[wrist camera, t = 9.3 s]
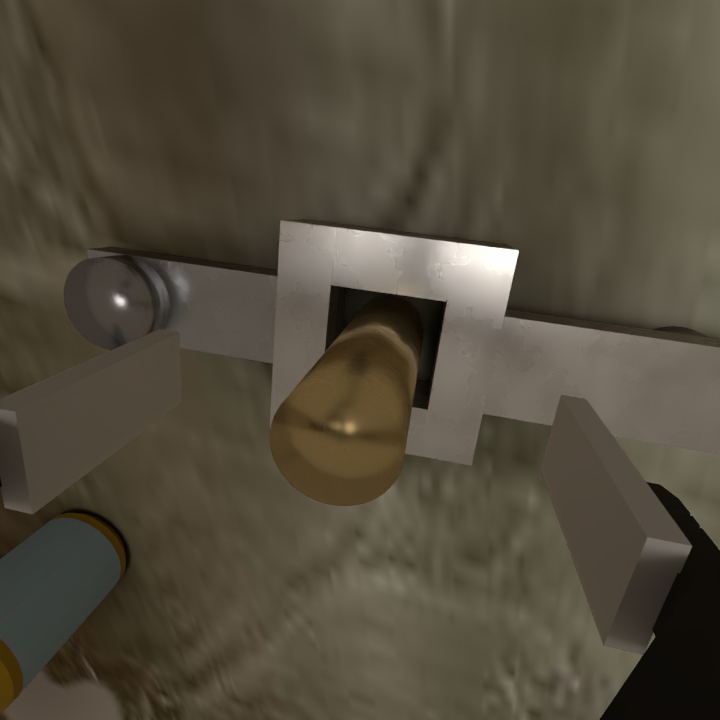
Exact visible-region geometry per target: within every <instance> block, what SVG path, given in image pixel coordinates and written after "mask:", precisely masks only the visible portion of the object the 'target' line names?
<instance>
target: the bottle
mask: <svg viewBox="0 0 720 720" xmlns="http://www.w3.org/2000/svg"><path fill="white" fill-rule="evenodd" d="M125 567H126V553H125V549H124V544H123V542H122V541H121V539H120V537H119V535H118V534H117V533H116V532H115V531H114V529H113V528H112V527H111V526H110V525H109V524H107V523H106V522H104V521H103V520H101V519H100V518H98V517H95V516H92V515H89V514H83V513H65V514H61V515H58V516H56V517H55V518H53V519H52V520H51V521H49V522H48V523H46V524H45V525H44V526H43V527H41V528H40V529H39V530H37V531H36V532H35V533H34V534H32V535H31V536H30V537H28V538H27V539H26V540H25V541H23V542H22V543H21V544H20V545H18V546H17V547H16V548H14V549H13V550H12V551H11V552H9V553H8V554H7V555H6V556H4V557H3V558H2V559H0V712H2V711H3V710H5V709H6V708H7V707H8V706H9V705H10V704H11V703H12V702H13V701H14V699H16V698H17V697H18V696H19V694H20V693H21V692H22V691H23V690H24V689H25V688H26V686H27V685H28V684H29V683H30V682H31V681H32V679H34V677H35V676H36V675H37V674H38V673H39V672H40V671H41V669H42V668H43V667H44V666H45V665H46V664H47V663H48V661H49V660H50V659H51V658H52V657H53V656H54V655H55V654H56V652H57V651H58V650H59V649H60V648H61V647H62V646H63V644H64V643H65V642H66V641H67V640H68V639H69V638H70V636H71V635H72V634H73V633H74V632H75V631H76V630H77V628H78V627H79V626H80V625H81V624H82V623H83V622H84V620H85V619H86V618H87V617H88V616H89V615H90V614H91V613H92V611H93V610H94V609H95V608H96V607H97V606H98V605H99V603H100V602H101V601H102V600H103V599H104V598H105V597H106V595H107V594H108V593H109V592H110V591H111V590H112V589H113V587H114V586H115V585H116V584H117V582H118V581H119V580H120V579H121V577H122V576H123V574H124V572H125Z"/></svg>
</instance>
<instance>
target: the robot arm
mask: <svg viewBox="0 0 720 720" xmlns="http://www.w3.org/2000/svg"><path fill="white" fill-rule="evenodd" d="M181 402H182V398H181V364H180V332H175V331H169V330H163V329H158V330H156V331H154V332H152V333H149V334H147V335H145V336H143V337H140V338H138V339H136V340H133V341H131V342H129V343H127V344H124V345H122V346H120V347H117V348H115V349H113V350H111V351H108V352H106V353H104V354H102V355H99V356H97V357H95V358H92V359H90V360H88V361H86V362H83V363H81V364H79V365H77V366H74V367H72V368H70V369H67V370H65V371H63V372H61V373H58V374H56V375H54V376H52V377H49V378H47V379H45V380H42V381H40V382H38V383H36V384H33V385H31V386H29V387H27V388H24V389H22V390H20V391H17V392H15V393H13V394H11V395H8V396H6V397H4V398H2V399H0V487H1V491H2V496H3V501H4V506H5V508H8V509H12V510H16V511H21V512H25V513H29V514H34V513H35V512H36V511H38V510H39V509H40V508H42V507H43V506H44V505H46V504H47V503H48V502H50V501H51V500H52V499H54V498H55V497H56V496H58V495H59V494H60V493H62V492H63V491H64V490H66V489H67V488H68V487H70V486H71V485H72V484H74V483H75V482H76V481H77V480H79V479H80V478H81V477H83V476H84V475H85V474H87V473H88V472H89V471H91V470H92V469H93V468H95V467H96V466H97V465H99V464H100V463H101V462H103V461H104V460H105V459H107V458H108V457H109V456H111V455H112V454H113V453H115V452H116V451H117V450H119V449H120V448H121V447H123V446H124V445H125V444H127V443H128V442H129V441H131V440H132V439H133V438H134V437H136V436H137V435H138V434H140V433H141V432H142V431H144V430H145V429H146V428H148V427H149V426H150V425H152V424H153V423H154V422H156V421H157V420H158V419H160V418H161V417H162V416H164V415H165V414H166V413H168V412H169V411H170V410H172V409H173V408H174V407H176V406H177V405H178V404H180V403H181ZM540 470H541V473H542V475H543V478H544V481H545V484H546V486H547V489H548V492H549V495H550V498H551V500H552V503H553V506H554V509H555V512H556V514H557V517H558V520H559V523H560V525H561V528H562V531H563V534H564V537H565V539H566V542H567V545H568V548H569V550H570V553H571V556H572V559H573V562H574V564H575V567H576V570H577V573H578V576H579V578H580V581H581V584H582V587H583V589H584V592H585V595H586V598H587V601H588V603H589V606H590V609H591V612H592V614H593V617H594V620H595V623H596V626H597V628H598V631H599V634H600V637H601V640H602V642H603V645H604V646H609V647H613V648H617V649H622V650H626V651H630V652H635V653H639V654H644V655H643V656H642V658H641V659H640V661H639V662H638V664H637V665H636V667H635V668H634V670H633V671H632V673H631V674H630V676H629V677H628V678H627V680H626V681H625V683H624V684H623V686H622V687H621V689H620V690H619V692H618V693H617V695H616V696H615V698H614V699H613V701H612V702H611V704H610V705H609V706H608V708H607V709H606V711H605V712H604V714H603V715H602V717H601V718H600V720H720V550H719V549H718V548H717V547H716V545H715V544H714V543H713V541H712V540H711V539H710V538H709V536H708V535H707V534H706V533H705V531H704V530H703V529H702V528H700V525H699V524H698V523H697V521H696V520H695V519H694V517H693V516H690V512H689V511H688V510H687V509H686V507H685V506H684V505H683V504H682V502H681V501H680V500H679V499H678V498H677V497H676V496H674V495H673V494H672V493H670V492H669V491H668V490H666V489H665V488H664V487H662V486H661V485H659V484H654V483H648V482H646V481H645V480H644V478H643V477H642V476H641V474H640V473H639V471H638V470H637V469H636V467H635V466H634V465H633V463H632V462H631V460H630V459H629V458H628V456H627V455H626V453H625V452H624V451H623V449H622V448H621V447H620V445H619V444H618V442H617V441H616V440H615V438H614V437H613V436H612V434H611V433H610V431H609V430H608V429H607V427H606V426H605V424H604V423H603V422H602V420H601V419H600V418H599V416H598V415H597V413H596V412H595V411H594V409H593V408H592V406H591V405H590V404H589V402H588V401H587V400H586V399H583V398H577V397H571V396H565V395H561V397H560V400H559V404H558V407H557V411H556V414H555V418H554V421H553V425H552V428H551V432H550V435H549V439H548V442H547V446H546V449H545V453H544V456H543V460H542V463H541V467H540ZM653 632H654V634H655V636H656V637H655V639H654V640H653V642H652V643H651V645H650V646H649V648H648V649H647V650H646V648H647V645H648V643H649V641H650V639H651V637H652V634H653ZM645 650H646V652H645ZM644 652H645V653H644Z"/></svg>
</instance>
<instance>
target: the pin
mask: <svg viewBox="0 0 720 720" xmlns="http://www.w3.org/2000/svg"><path fill="white" fill-rule="evenodd" d="M423 333H424V326H423V321H422V318H421V316H420V314H419V312H418V311H417V309H416V308H415V307H414V306H413V305H412V304H411V303H409V302H408V301H406V300H404V299H402V298H399V297H396V296H381V297H378V298H375V299H373V300H371V301H369V302H368V303H367V304H366V305H364V307H363V308H362V309H361V310H360V311H359V312H358V314H357V315H356V316H355V317H354V318H353V320H352V321H351V322H350V323H349V324H348V325H347V327H346V328H345V329H344V330H343V331H342V333H341V334H340V335H339V336H338V337H337V339H336V340H335V341H334V342H333V343H332V344H331V346H330V347H329V348H328V349H327V350H326V352H325V353H324V354H323V355H322V356H321V358H320V359H319V360H318V361H317V362H316V363H315V365H314V366H313V367H312V368H311V369H310V371H309V372H308V373H307V374H306V375H305V376H304V378H303V379H302V380H301V381H300V382H299V384H298V385H297V386H296V387H295V388H294V390H293V391H292V392H291V393H290V394H289V395H288V397H287V398H286V399H285V400H284V401H283V403H282V404H281V405H280V406H279V408H278V410H277V411H276V413H275V415H274V418H273V420H272V424H271V428H270V446H271V451H272V455H273V458H274V460H275V463H276V465H277V467H278V468H279V470H280V472H281V473H282V474H283V476H284V477H285V478H286V480H287V481H288V482H289V483H290V484H291V485H292V486H293V487H295V488H296V489H297V490H298V491H300V492H301V493H303V494H304V495H306V496H308V497H310V498H312V499H314V500H317V501H319V502H322V503H326V504H330V505H337V506H352V505H358V504H363V503H366V502H369V501H371V500H373V499H375V498H377V497H379V496H380V495H382V494H383V493H385V492H386V491H387V490H388V489H389V488H390V487H391V486H392V485H393V483H394V482H395V481H396V479H397V477H398V476H399V474H400V471H401V469H402V465H403V461H404V456H405V449H406V443H407V437H408V430H409V424H410V417H411V411H412V405H413V398H414V392H415V385H416V379H417V372H418V366H419V360H420V353H421V347H422V340H423Z"/></svg>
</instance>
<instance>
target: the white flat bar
mask: <svg viewBox="0 0 720 720" xmlns="http://www.w3.org/2000/svg"><path fill="white" fill-rule="evenodd" d="M87 253H88V259H86V260H84V261H82V262H80V263H78V264H77V265H76V266H75V267H74V268H73V269H72V270H71V271H70V273H69V275H68V276H67V279H66V282H65V286H64V301H65V306H66V310H67V313H68V315H69V317H70V319H71V321H72V323H73V324H74V326H75V327H76V329H77V330H78V331H79V332H80V333H81V334H82V335H83V336H84V337H85V338H86V339H87V340H89V341H90V342H92V343H93V344H95V345H97V346H99V347H102V348H105V349H110V350H113V349H115V348H117V347H120V346H122V345H124V344H127V343H129V342H131V341H133V340H136V339H138V338H140V337H143V336H145V335H147V334H149V333H152V332H154V331H156V330H158V329H163V330H169V331H175V332H180V348H183V349H189V350H195V351H201V352H207V353H213V354H219V355H225V356H230V357H236V358H242V359H248V360H254V361H260V362H266V363H272V364H273V373H272V392H271V411H270V428H271V424H272V420H273V418H274V415H275V413H276V411H277V410H278V408H279V406H280V405H281V404H282V403H283V401H284V400H285V399H286V398H287V397H288V395H289V394H290V393H291V392H292V391H293V390H294V388H295V387H296V386H297V385H298V384H299V382H300V381H301V380H302V379H303V378H304V376H305V375H306V374H307V373H308V372H309V371H310V369H311V368H312V367H313V366H314V365H315V363H316V362H317V361H318V360H319V359H320V358H321V356H322V355H323V354H324V353H325V352H326V350H327V349H328V348H329V347H330V346H331V344H332V343H333V342H334V341H335V340H336V339H337V337H338V336H339V335H340V334H341V330H342V320H343V310H344V300H345V290H346V287H347V288H354V289H361V290H368V291H375V292H382V293H389V294H396V295H403V296H410V297H417V298H424V299H431V300H438V301H444V304H443V310H442V316H441V322H440V327H439V333H438V339H437V344H436V350H435V356H434V362H433V367H432V373H431V379H430V382H425V381H419V380H416V385H415V392H414V398H413V405H412V411H411V417H410V424H409V430H408V437H407V443H406V449H405V453H406V454H411V455H417V456H422V457H427V458H433V459H438V460H443V461H449V462H454V463H459V464H465V465H470V466H471V465H472V461H473V456H474V452H475V447H476V443H477V438H478V433H479V429H480V424H481V420H482V415H483V414H487V415H493V416H499V417H504V418H510V419H516V420H522V421H528V422H533V423H539V424H545V425H551V426H552V425H553V421H554V418H555V414H556V411H557V407H558V404H559V400H560V397H561V395H565V396H571V397H577V398H583V399H586V400H587V401H588V402H589V404H590V405H591V406H592V408H593V409H594V411H595V412H596V413H597V415H598V416H599V418H600V419H601V420H602V422H603V423H604V424H605V426H606V427H607V429H608V430H609V431H610V433H611V434H612V436H615V437H620V438H626V439H632V440H638V441H644V442H650V443H655V444H661V445H667V446H673V447H679V448H684V449H690V450H696V451H702V452H708V453H713V454H719V455H720V339H713V338H709V337H707V336H705V335H702V334H700V333H698V332H696V331H694V330H691V329H688V328H683V327H675V326H673V327H662V328H657V329H654V330H650V329H643V328H636V327H629V326H622V325H615V324H608V323H601V322H594V321H587V320H580V319H573V318H566V317H559V316H552V315H545V314H538V313H531V312H524V311H517V310H510V309H506V307H507V302H508V298H509V293H510V289H511V284H512V280H513V275H514V271H515V266H516V262H517V257H518V253H519V250H517V249H515V248H513V247H511V246H509V245H506V244H498V243H490V242H482V241H474V240H466V239H458V238H450V237H442V236H434V235H426V234H418V233H410V232H402V231H394V230H386V229H378V228H370V227H362V226H354V225H346V224H338V223H330V222H322V221H314V220H306V219H300V220H280V239H279V258H278V270H273V269H266V268H258V267H251V266H244V265H237V264H230V263H223V262H216V261H209V260H202V259H195V258H187V257H180V256H173V255H166V254H159V253H152V252H145V251H138V250H131V249H124V248H116V247H104V248H94V249H87Z"/></svg>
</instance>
